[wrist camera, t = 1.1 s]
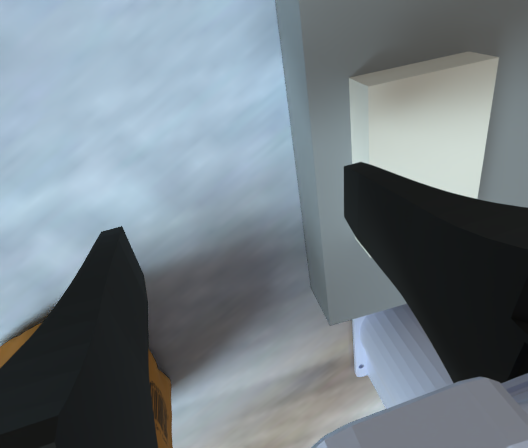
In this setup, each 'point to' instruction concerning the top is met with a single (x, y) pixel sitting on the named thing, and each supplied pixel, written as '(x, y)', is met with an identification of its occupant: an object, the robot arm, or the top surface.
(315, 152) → the grey flat block
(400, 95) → the cream rectangular block
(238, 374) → the top surface
